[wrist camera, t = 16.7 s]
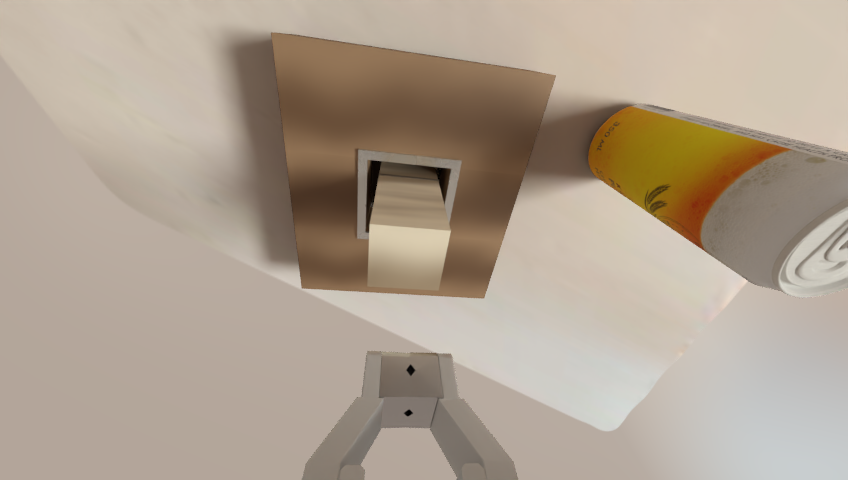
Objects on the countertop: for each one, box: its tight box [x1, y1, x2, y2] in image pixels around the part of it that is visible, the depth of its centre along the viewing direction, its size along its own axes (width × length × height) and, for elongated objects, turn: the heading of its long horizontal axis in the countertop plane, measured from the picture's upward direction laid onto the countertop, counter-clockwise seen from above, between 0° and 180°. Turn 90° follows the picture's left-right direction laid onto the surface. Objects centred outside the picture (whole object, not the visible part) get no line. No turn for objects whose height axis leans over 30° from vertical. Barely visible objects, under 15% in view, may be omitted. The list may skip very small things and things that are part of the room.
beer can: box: [588, 104, 848, 298], centre depth 18 cm, size 6×6×15 cm
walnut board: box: [271, 33, 556, 298], centre depth 23 cm, size 18×16×4 cm
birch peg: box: [367, 161, 451, 291], centre depth 20 cm, size 4×4×11 cm
